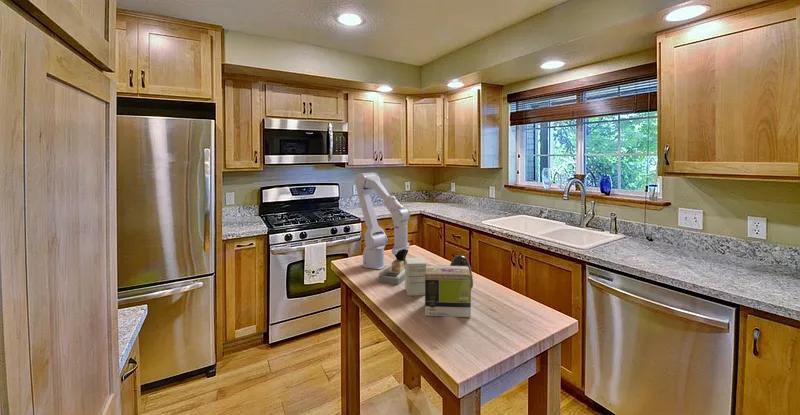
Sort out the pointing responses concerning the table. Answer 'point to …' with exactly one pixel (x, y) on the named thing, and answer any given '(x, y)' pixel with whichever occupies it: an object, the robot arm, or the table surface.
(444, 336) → the table surface
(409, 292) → the supplement box
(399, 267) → the maple block
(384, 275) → the trap lane
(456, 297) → the tea box
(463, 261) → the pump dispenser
